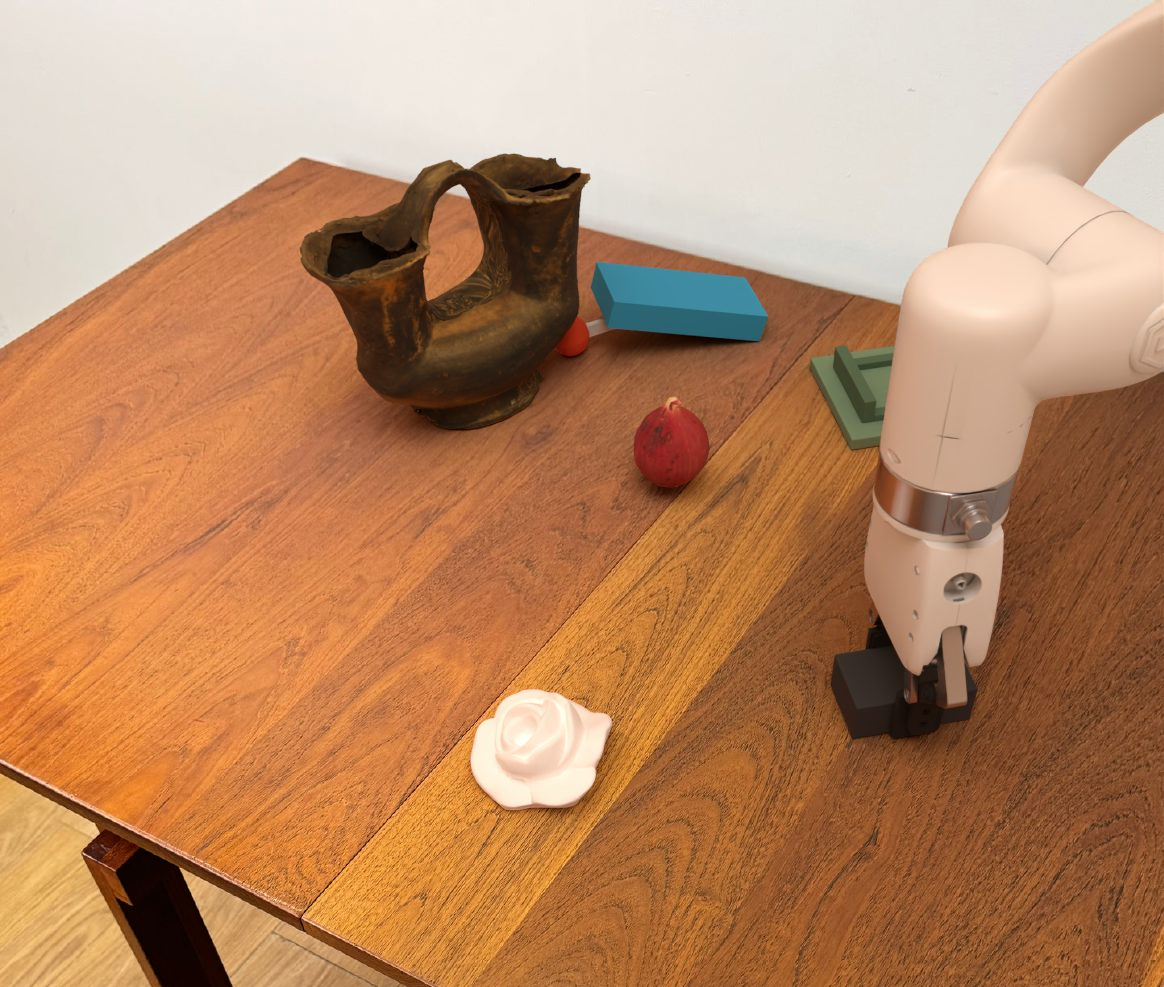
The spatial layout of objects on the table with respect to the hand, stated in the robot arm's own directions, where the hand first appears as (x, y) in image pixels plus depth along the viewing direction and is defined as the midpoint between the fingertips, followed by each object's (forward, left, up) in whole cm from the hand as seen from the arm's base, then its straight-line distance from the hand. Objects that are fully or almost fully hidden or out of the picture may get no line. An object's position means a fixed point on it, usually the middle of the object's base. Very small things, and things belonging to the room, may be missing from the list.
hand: (899, 697), depth 83 cm
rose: (+24, 0, -1) cm, 24 cm away
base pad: (-12, -33, 0) cm, 35 cm away
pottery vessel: (+24, -42, -1) cm, 48 cm away
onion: (+10, -26, -1) cm, 28 cm away
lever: (+7, -47, -1) cm, 48 cm away
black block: (0, 0, 0) cm, 0 cm away
